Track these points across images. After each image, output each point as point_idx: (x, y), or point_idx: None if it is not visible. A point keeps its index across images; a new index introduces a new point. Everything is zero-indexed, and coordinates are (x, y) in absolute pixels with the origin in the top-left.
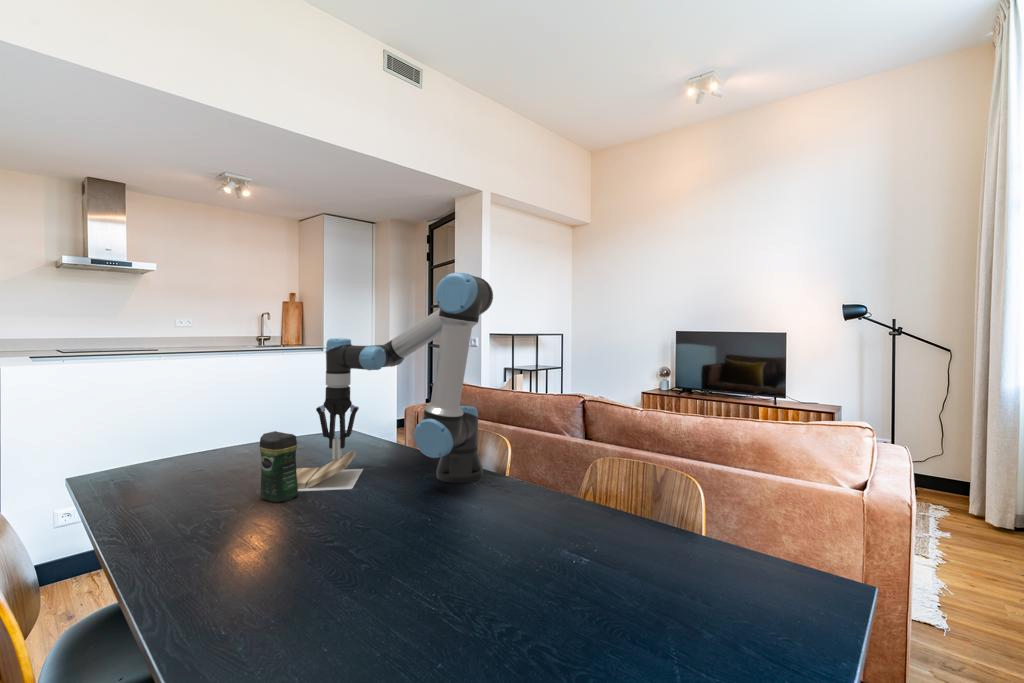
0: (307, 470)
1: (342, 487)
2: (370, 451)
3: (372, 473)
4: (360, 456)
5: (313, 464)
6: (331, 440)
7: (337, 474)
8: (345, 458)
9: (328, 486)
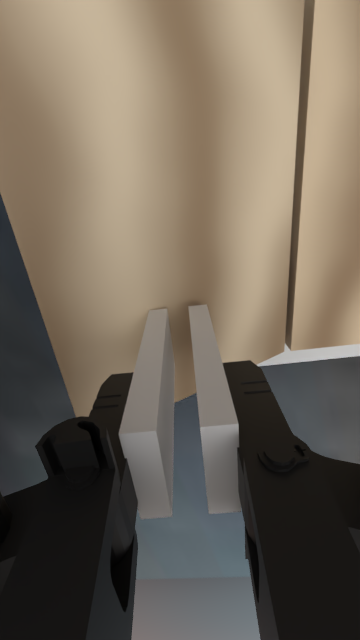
0: (346, 299)
1: None
2: (151, 566)
3: (10, 331)
4: (168, 524)
5: (331, 445)
6: (255, 427)
7: None
8: (51, 226)
9: None
